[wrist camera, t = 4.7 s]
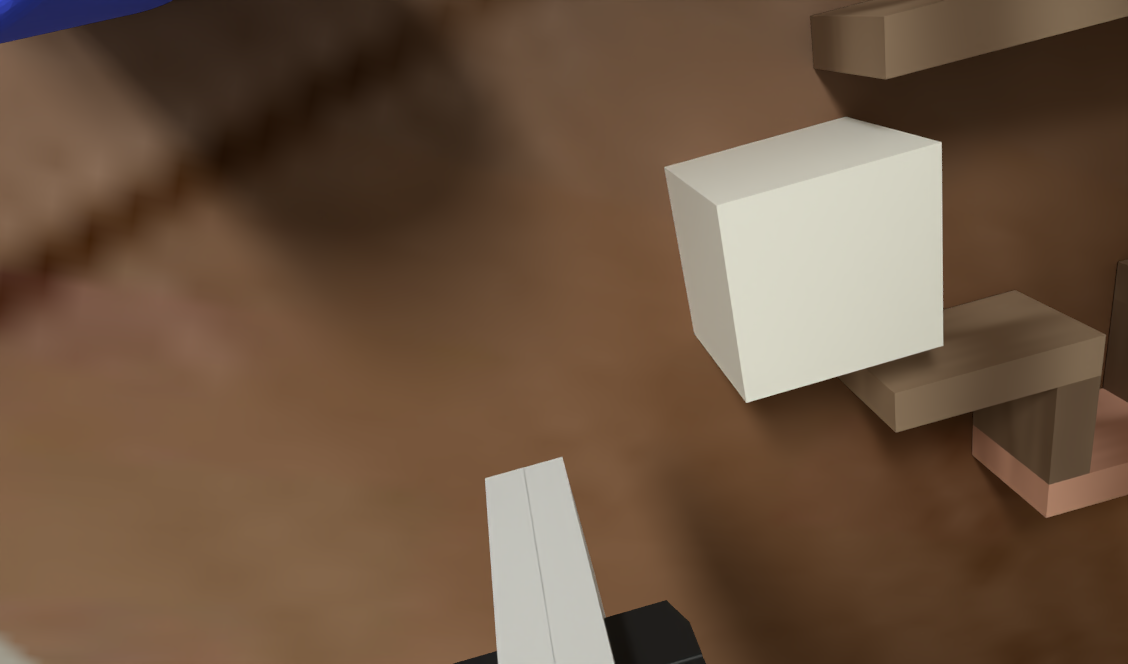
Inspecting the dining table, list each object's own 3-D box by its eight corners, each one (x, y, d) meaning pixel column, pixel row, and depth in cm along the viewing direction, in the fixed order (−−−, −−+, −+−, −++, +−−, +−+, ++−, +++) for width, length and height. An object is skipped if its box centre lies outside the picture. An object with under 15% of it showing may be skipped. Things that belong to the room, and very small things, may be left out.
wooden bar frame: (843, 491, 29) (899, 559, 25) (810, 15, 21) (884, 16, 17) (1258, 374, 29) (1371, 424, 26) (1373, -130, 22) (1558, -158, 18)
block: (693, 332, 25) (746, 402, 21) (663, 166, 22) (716, 205, 18) (855, 285, 25) (943, 345, 21) (844, 116, 23) (941, 142, 18)
